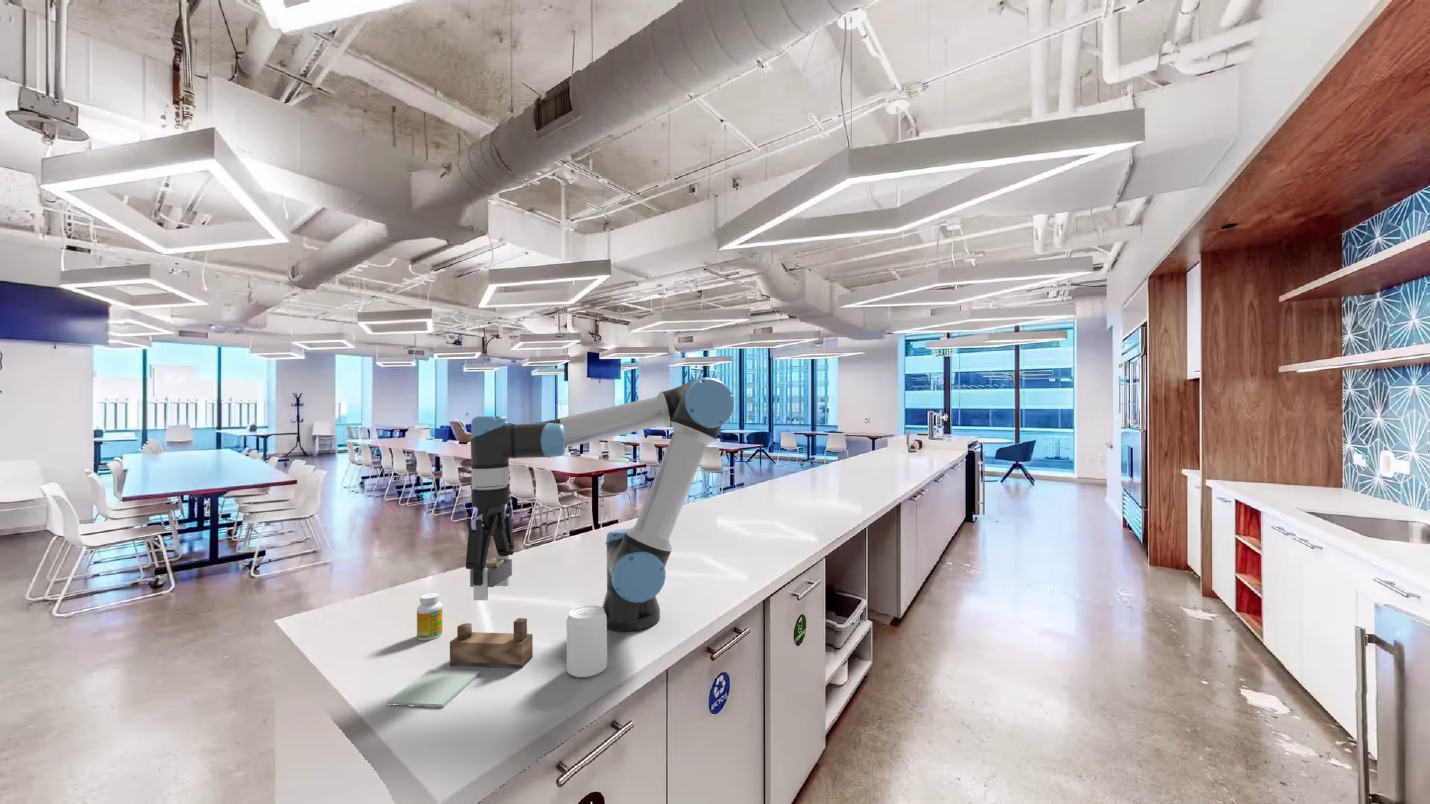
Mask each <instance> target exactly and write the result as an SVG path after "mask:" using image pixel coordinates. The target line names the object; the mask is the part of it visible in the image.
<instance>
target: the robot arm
mask: <svg viewBox="0 0 1430 804" xmlns="http://www.w3.org/2000/svg"><path fill="white" fill-rule="evenodd" d="M734 400H735V399H734V396H733V393H732V391H731V390H730V388H729V387H728V385H727V384H725V382H722V381H721V380H719V379H717V378H712V377H700V378H697V379H695V380H691V381H688V382H686V383H683V384H681V385H679V386H677V387H674V388H671V389H668V390H663V391H659V392H658V394H657V396H654V397H650V398H644V399H640V400H637V401H632V402H627V403H624V404H618V405H613V406H610V407H605V408H600V409H596V410H590V411H587V412H583V413H577V414H573V415H568V416H565V417H560V418H557V419H556V418H555V419H551V420H546V421H540V422H536V423H527V424H526V423H524V424H520V423H519V424H515V423H514V424H513V423H510V421H509V418H508V417H507V416H506V415H486V416H485V415H481V416H480V415H479V416H475V417H473V418H472V420H471V428H470V437H469V440H470V457H471V458H470V459H471V460H470V465H471V466H470V467H471V472H470V475H471V487H472V488H473V489H472V490H471V506H472V507H473V508H476V509H477V511H476V517H475V518H473V519H472V518H469V519H468V520H467V529H468V531H467V532H468V534H467V535H468V536H467V544H466V545H467V546H466V557H465V559H466V560H465V570H471V569H472V570H473V587H472V588H473V589H472V590H473V601H487V600H489V587H488V568H485V564H486V561H487V557H488V553H489V548H490V543H491V539H492V538H493V542H494V546H495V549H496V553H497V555H496V556H495V558H494V559H510V558H509V556H513V555H514V552H515V551H514V549H515V541H514V532H513V523H512V521H513V520H512V512H513V511H512V507H505V506H506V505H508V504H509V503H510V488H509V486H507V485H509V484H510V463H509V460H510V459H526V458H527V459H529V458H530V459H532V458H533V459H535V458H547V459H550V458H554V457H562V456H564V454H565V453H566V448H569V447H574V446H579V445H583V444H588V443H592V442H595V441H600V440H604V439H608V438H614V437H617V436H618V437H619V436H622V435H626V434H630V433H631V434H632V433H633V432H634V433H635V432H638V431H643V430H647V429H651V428H655V427H661V426H664V427H665V428H668V429H669V428H672V430H673V433H672V435H671V437H670V440H669V443H668V445H667V447H666V449H665V453H664V455H663V457H662V460H661V462H660V465H659V466H658V469H657V472H656V474H655V477H654V479H653V481H652V484H651V486H650V489H649V491H648V494H647V496H646V498H645V501H644V504H643V506H642V508H641V511H640V512H639V515H638V518H637V520H636V523H635V525H634V526H632V527H631V528H622V529H616V530H610V531H609V532H608V533H607V534H606V541H605V545H606V593H605V596H604V599H603V603H602V606H601V607H602V608H604V612H605V613H606V616H607V630H610V631H613V632H614V631H615V632H634V631H635V632H636V631H640V630H644V628H645V629H647V628H650V627H652V626H654V625H655V624H657V623H658V622H659V621H660V619H661V608H660V605H659V602H658V599H657V595H658V594H659V593H660V592H661V590H662V589H663V586H664V585H665V582H666V573H667V572H666V566H667V563H668V561H669V557H670V555H671V553H672V550H673V547H672V545H671V542H670V538H671V535H672V533H673V531H674V529H675V526H676V522H677V520H678V518H679V515H680V513H681V511H682V509H683V505H684V503H685V501H686V498H687V496H688V494H689V491H690V489H691V486H692V483H693V481H694V478H695V476H696V473H697V470H698V469H699V466H700V463H701V460H702V458H703V455H704V454H705V451H706V448H707V446H708V445H710V444H712V443H714V442H715V441H716V440H717V438H718V435H719V433H720V431H721V428H722V426H723V425H725V424H726V423H727V421H729V420H730V418H731V416H732V414H733V412H734V408H735V401H734ZM508 586H510V577H508V578H507V579H505V580H503V581H502V582H500V583H499V584H497V585H496V586H495V587H508Z"/></svg>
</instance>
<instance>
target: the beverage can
mask: <svg viewBox="0 0 1430 804" xmlns="http://www.w3.org/2000/svg"><path fill="white" fill-rule="evenodd" d="M607 667H608V629H607V616H606V613H605V612H604V608H602V606H599V605H594V604H593V605H589V604H588V605H582V606H578V607H575V608H573V609H570V611H569V613H568V616H567V619H566V671H567V673H568V674H569V675H570V676H573V677H576V678H581V677H585V678H590V677H589V676H591V677H594V676H593V675H595V676H596V674H597V675H598V674H601V673H602V672H603V671H605V670H606V668H607Z"/></svg>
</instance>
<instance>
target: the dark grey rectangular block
mask: <svg viewBox="0 0 1430 804" xmlns="http://www.w3.org/2000/svg"><path fill="white" fill-rule="evenodd" d="M512 561H513V559H511V558H509V559H495V558H490V559H488V560H486V564H485V568H488V588H494V587H497V586H496V585H497V584H499V583H500V582H502V581H503V580H505V579H507V578H508V577H509V578H510V577H512V576H513V563H512ZM469 587H470V588H473V570H472V569H469Z"/></svg>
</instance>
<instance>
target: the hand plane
mask: <svg viewBox="0 0 1430 804" xmlns="http://www.w3.org/2000/svg"><path fill="white" fill-rule="evenodd" d="M472 627H473V626H472V623H468V622H466V623H462V624H459V625H458V626H457V627H456V629H457V630H456V632H457V634H456V635H457V636H456V637H454V638H453V639H451V640H450V641H449V666H453V667H474V668H475V667H477V668H479V667H480V668H499V669H500V668H502V669H523V668H524V666H525V667H526V665H527V663H529V662H530V661H531V659H532V658H533V657H534V656H533V655H534V650H533V648H534V647H533V645H534V644H533V633H528V618H525V617H517V618H516V619H515V620H513V633H505V632H482V631H481V632H480V631H479V632H478V631H475V632H474V631H473V629H472Z"/></svg>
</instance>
